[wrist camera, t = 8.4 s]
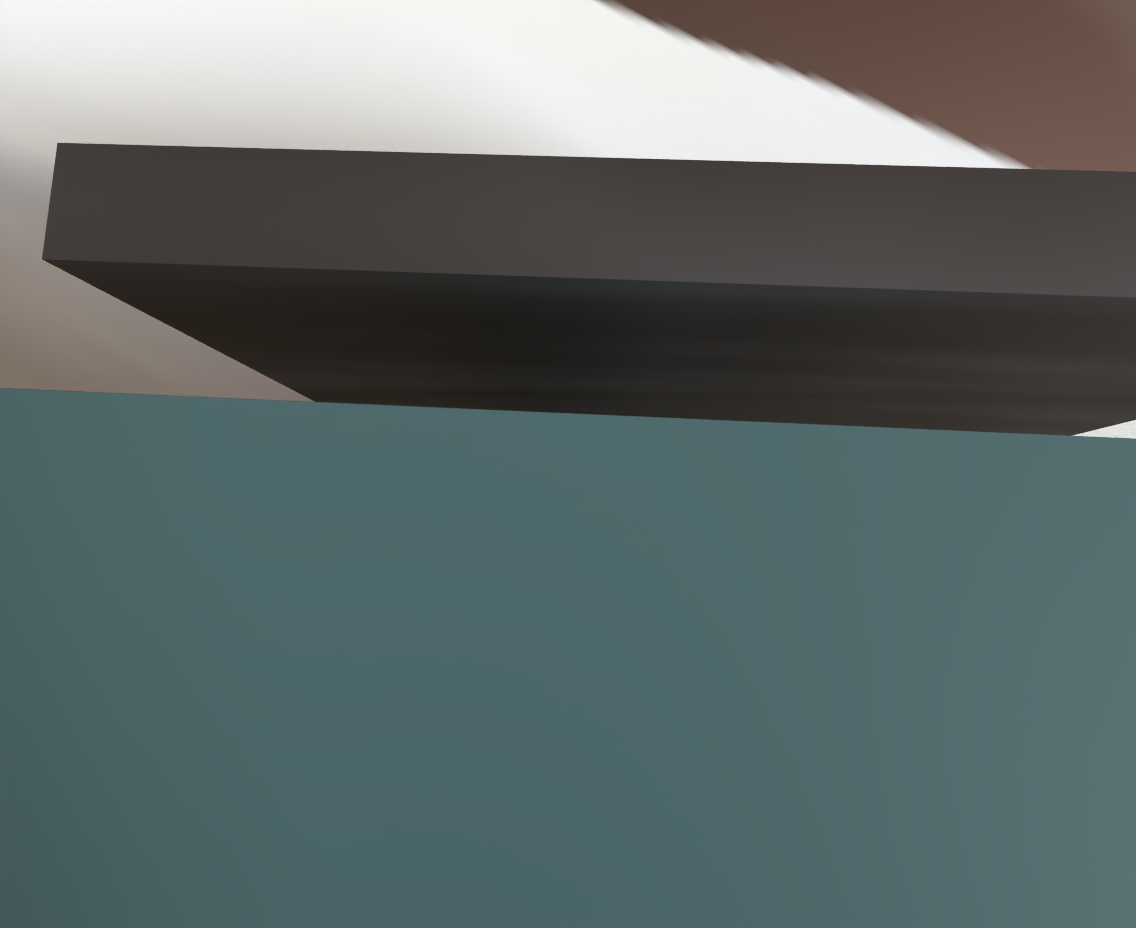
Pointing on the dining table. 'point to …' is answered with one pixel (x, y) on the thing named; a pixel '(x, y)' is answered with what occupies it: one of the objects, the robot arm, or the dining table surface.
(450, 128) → the dining table surface
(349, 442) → the tall teal pillar
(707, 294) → the grey l-shaped bracket
